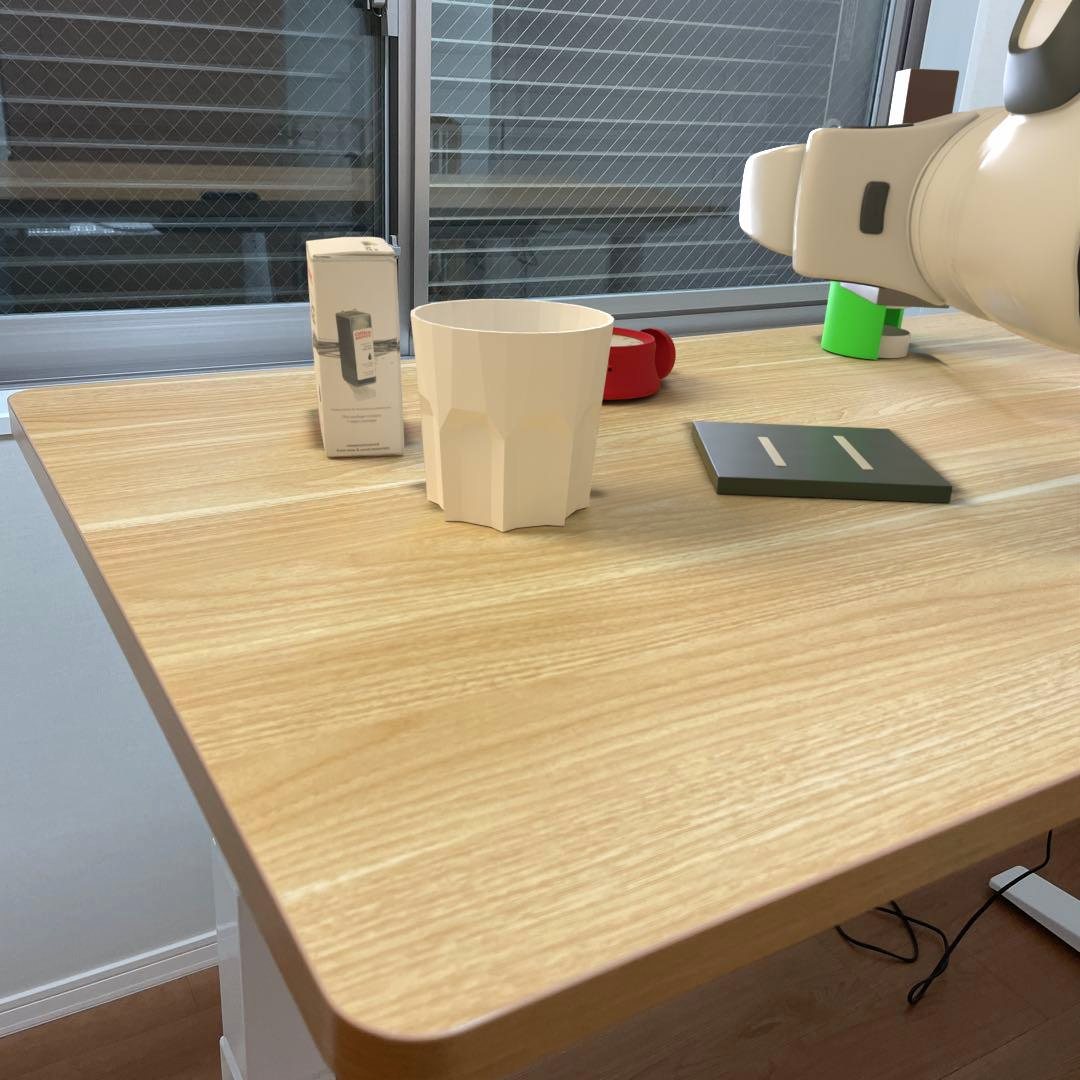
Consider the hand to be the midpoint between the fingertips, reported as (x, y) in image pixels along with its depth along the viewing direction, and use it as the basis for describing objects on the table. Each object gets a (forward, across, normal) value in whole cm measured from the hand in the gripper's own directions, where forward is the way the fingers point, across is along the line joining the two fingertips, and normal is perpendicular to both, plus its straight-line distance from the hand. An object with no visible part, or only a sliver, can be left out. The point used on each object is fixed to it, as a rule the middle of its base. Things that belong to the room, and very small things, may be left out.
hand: (901, 196), depth 59 cm
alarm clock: (+18, +16, +16) cm, 29 cm away
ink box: (0, +32, +16) cm, 35 cm away
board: (-2, +4, +16) cm, 16 cm away
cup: (-11, +22, +16) cm, 29 cm away
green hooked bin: (+37, -10, +16) cm, 42 cm away
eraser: (-1, 0, +6) cm, 6 cm away
